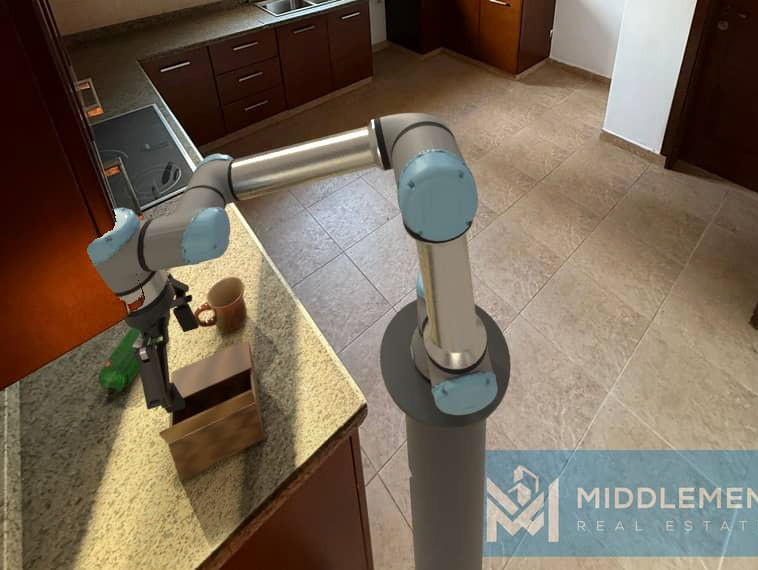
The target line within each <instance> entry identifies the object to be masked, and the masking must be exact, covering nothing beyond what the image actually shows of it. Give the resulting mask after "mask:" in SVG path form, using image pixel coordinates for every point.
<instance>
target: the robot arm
mask: <svg viewBox="0 0 758 570" xmlns="http://www.w3.org/2000/svg"><path fill="white" fill-rule="evenodd" d="M374 168H378V169H379V170H380V171H382V172H386V171H389V170H393V174H394V180H395V185H396V194H397V195H396V196H397V203H398V204H397V205H398V208H399V211H400V212H401V213H400V214H401V219H402V224H403V228H404V230H405V233H406V234H407V235H408V236H409V237H410V238H411V239H413V240H414V241H415V246H416V252H417V257H418V259H417V260H418V265H419V270H420V271H419V272H418V274H417V277H416V281H415V282H416V283H415V288H414V289H415V292H416V293H415V294H416V299H417V313H418V326H417V328H416V330H415V332H414V334H413V338H412V342H411V354H412V360H413V363H414V366H415V368H416V370H417V371H418V373H419V374H420V375H421V376H422V377H423V378H424V379H425V380H426V381H428V382H430V383H431V384H432V394H433V395H434V399H435V403H436V405H437V407H438V408H439V409H440V410H441V411H443V412H444V413H447V414H452V415H465V414H470V413H473V412H476V411H478V410H481V409H483V408H484V407H486V406H487V405H488V404H490V403H491V402H492V401H493V399H494V398H495V396H496V394H497V383H496V375H495V374H494V373H493V369H492V366H491V362H490V358H489V353H488V344H487V335H486V330H485V327H484V324H483V322H482V321H481V319H480V318H479V317H478V316H477V315H476V312H475V304H476V303H475V296H474V289H473V278H472V272H471V262H470V253H469V245H468V237H467V234H468V232H469V231H470V229H471V228H472V226H473V224H474V220H475V217H476V216H477V215H476V214H477V212H478V208H479V194H478V188H477V183H476V179H475V177H474V175H473V173H472V171H471V169H470V168H469V166H468V164H467V163H466V160H465V158H464V156H463V154H462V151H461V150H460V147H459V145H458V143H457V140H456V137H455V135H454V133H453V132H452V130H451V129H450V127H449V126H448V125H447V124H446V123H445V122H444V121H442V120H441V119H440V118H438V117H436V116H433V115H430V114H427V113H422V112H404V113H396V114H389V115H385V116H381V117H377V118H373V119H371V120H370V122H369V124H368V125H367V126H363V127H360V128H356V129H355V128H354V129H352V130H347V131H342V132H339V133H336V134H331V135H327V136H322V137H319V138H315V139H311V140H306V141H304V142H303V141H302V142H299V143H295V144H291V145H286V146H283V147H279V148H275V149H271V150H267V151H262V152H259V153H255V154H251V155H247V156H243V157H238V158H235V159H234V158H233V157H231V156H230V155H228V154H221V153H213V154H210V155H207V156H206V157H205V158H203V160H201V161H200V163H199V164H198V166H197V167H196V168H195V169H194V170H193V172H192V174H191V177H190V179H189V181H188V183H187V186H186V187H185V189H184V191H183V193H182V194H181V196H180V198H179V200H178V202H177V203H176V205H175V207H174V209H173V210H172V213H171V214H170V215H163V216H159V217H154V218H147V219H142V220H140V218H139V215H137V214H136V213H135V211H134V210H132V209H129V208H126V207H117V208H113V209H114V212H115V215H116V216H115V218H116V221H117V222H115V226H114V228H113V230H111V231H108V232H107V233H105V234H104V235H103V236H102V237H100V238H97V239H95V240H94V241H93V242H92V243H91V244H89V246H88V248H87V253H88V255H89V257H90V259H91V260H92V263H93V265H92V266H94V267H95V268H96V270H97V272H98V273H99V274H100V276H101V277H102V279H103V280H104V281H105V283H106V284H107V286H108V287H109V288H110V289H111V290H112V292H114V293H115V295H116V296H122V297H119V298H120V300H123V301H125V302H127V304H131V303H133V302H134V301H136V300H138V298H139V297H140V298H141V295H143V294H142V289H143V292H144V296H145V300H144V303H143V305H142V306H141V307H139V308H138V309H137V310H134V311H132V312H130V314H129V315H128V316H127V317H126V318H125V319H123V321H124V322H125V323H126V325H127V326H128V327H130V328H131V327H132V328H135V329H138V330H140V332H141V337H142V340H143V343H142V346H141V347H139V348H136V349H135V351H134V356H135V359H136V361H137V363H138V365H139V374H140V380H141V384H142V390H143V394H144V395H143V396H144V400H145V405H146V409H147V411H149V410H152V409H155V408H158V407H161V408H162V409H164V410H165V412H166V413H167V414H170V413H171V412H174V411H177V410H180V409H183V408H185V404H186V403H185V401H184V399H183V398H182V396H181V394H180V393H179V391H178V389H177V388H176V386H175V384H174V383H173V382H171V377H170V371H169V370H170V369H169V359H168V350H167V349H168V348H167V345H168V344H169V343H170V336H169V325H170V320H171V309H172V313H173V315H174V317H175V319H176V320H177V322H178V324H179V327H180V328H181V330H182V332H183V333H187V332H190V331H193V330H197V329H199V327H200V326H199V324H198V322H197V320H196V318H195V316H194V312H193V310H192V308H191V306H190V304H189V303H191V302H192V301H193V295H192V294H188V295H187V293H189V290H190V287H189V285H188V284H186V283H184V282H183V281H180V280H178V279H176V278H174V275H172V273H167V272H166V270H168V269H173V268H180V267H185V266H197V265H200V264H202V263H204V262H209V261H212V260H213V261H214V260H217V259H219V258H221V257H222V256H223V255H224V254H225V253H226V252H227V250H228V247H229V245H230V236H231V221H230V218H229V217H230V216H229V214H228V212H227V210H225V209H226V207H227V205H229V204H233V203H237V202H241V201H245V200H249V199H253V198H257V197H261V196H265V195H269V194H273V193H278V192H282V191H286V190H289V189H294V188H297V187H301V186H306V185H310V184H313V183H314V184H315V183H319V182H321V181H325V180H330V179H333V178H334V179H335V178H338V177H342V176H346V175H350V174H353V173H357V172H362V171H366V170H370V169H374ZM136 274H137V275H136ZM138 280H139V281H138ZM139 283H140V284H141V287H142V289H141V287H140V284H139ZM138 289H139V290H138ZM136 290H137V291H136ZM134 291H135V292H134ZM133 292H134V293H133ZM130 293H131V294H130ZM128 294H129V295H128ZM142 297H143V296H142ZM157 338H159V339H160V338H162V340H158V341H157V342H155V343H152V340H153V339H157Z"/></svg>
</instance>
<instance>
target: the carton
mask: <svg viewBox="0 0 758 570" xmlns="http://www.w3.org/2000/svg"><path fill="white" fill-rule="evenodd" d="M170 375H171V376H170V383H171V382H173V383H174V384H175V386H176V388H177V389H178V391H179V393H180V394H181V396H182V398H183V399H184V401H185V403H186V404H185V408H183V409H180V410H177V411H174V412H171V413H169V422H168V424H169V425H168V428H169V427H171V426H174V425H176V424H178V423H180V422H182V421H184V420H187V419H189V418H191V417H193V416H195V415H197V414H199V413H202V412H204V411H206V410H208V409H210V408H212V407H215V406H217V405H219V404H221V403H223V402H225V401H227V400H230V399H232V398H234V397H236V396H238V395H240V394H243V393H245V392H247V391H249V390H251V389H252V392H253V394H254V397H255V401H256V402H254V403H252V404H250V405H248V406H246V407H244V408H242V409H240V410H238V411H236V412H233V413H231V414H229V415H227V416H225V417H223V418H221V419H219V420H217V421H215V422H212V423H210V424H208V425H206V426H204V427H202V428H200V429H198V430H196V431H194V432H191V433H189V434H187V435H185V436H183V437H181V438H179V439H177V440H175V441H173V442H170V443H167V445H168V448H169V451H170V454H171V457H172V460H173V463H174V466H175V469H176V472H177V475H178V478H179V481H180V482H183V481H184V480H187V479H188V478H190V477H192V476H194V475H197V474H198V473H200V472H202V471H204V470H206V469H208V468H210V467H212V466H214V465H216V464H218V463H220V462H222V461H224V460H226V459H228V458H229V457H231V456H234V455H235V454H237V453H240V452H241V451H243V450H245V449H247V448H249V447H251V446H253V445H256V444H257V443H259V442H261V441H263V440H264V439H265V433H264V424H263V418H262V409H261V401H260V393H259V392H260V391H259V385H258V378H257V377H258V376H257V372H256V367H255V363H254V358H253V353H252V349H251V344H250V342H249V339H246V340H244V341H241V342H239V343H237V344H234V345H233V346H230V347H227V348H225V349H222V350H220V351H218V352H215V353H213V354H210V355H208V356H206V357H204V358H201V359H199V360H196V361H195V362H192V363H190V364H187V365H185V366H182V367H180V368H178V369H175V370H173V371H171V373H170Z"/></svg>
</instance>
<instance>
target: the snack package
mask: <svg viewBox="0 0 758 570" xmlns="http://www.w3.org/2000/svg"><path fill="white" fill-rule="evenodd" d="M159 340H160V338H157V339H153V340H152V343H155V342H159ZM142 343H143V340H142V337H141V332H140V330H138V329H135V328H132V327H130V328H129V329H128V331H127V332H126V333H125V334H124V336H123V337H122V339H121V340H120V341H119V343H118V344H117V346H115V348H114V349H113V351H112V352H111V354H110V355H109V356H108V358H107V359H106V360H105V362H104V363H103V365H102V367H101V369H100V372H99V374H98V376H99V377H98V378H99V379H98V380H99V385H100V387H101V388H103V389H105V388H110V389H115V390H116V391H117V392H121V391H122V390H123V389H124V388H125V387H126V386H128V385H130V383H132V381H133V380H134V379H135V378H136V376H137V374H138V372H140V370H139V365H138V363H137V361H136V359H135V356H134V351H135V349H136V348H139V347H141V346H142Z"/></svg>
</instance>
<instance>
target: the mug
mask: <svg viewBox="0 0 758 570" xmlns="http://www.w3.org/2000/svg"><path fill="white" fill-rule="evenodd" d="M244 294H245V283H244V280H242V279H241V278H239V277H237V276H236V277H235V276H230V277H229V276H228V277H225V278H223V279H220V280H219V281H218V282H215V283H214V284H213V285H212V287H211V288H210V289H209V291H208V292H207V294H206V297H205V298H206V299H205V300H206V302H204V303H202V304H201V305H200V306H198V308H196V309H195V311H194V312H193V314H194V316H195V318H196V320H197V322H198V324H199V326H198V327H202V328H209V327H214V326H215V327H216V329H217V330H218V331H219V333H220V334H223V335H231V334H234V333H237V332H238V331H240V330H241V329H242V328H243V327H244V325H245V324H246V322H247V317H248V308H247V306H246V301H245V297H244ZM206 311H212V317H210V318H209V319H207V320H202V319H201V318H200V314H201V313H204V312H206Z"/></svg>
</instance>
